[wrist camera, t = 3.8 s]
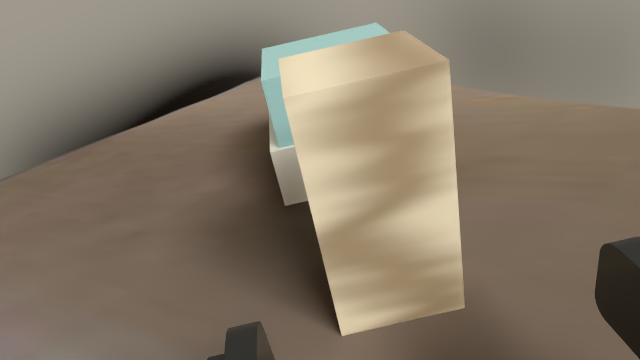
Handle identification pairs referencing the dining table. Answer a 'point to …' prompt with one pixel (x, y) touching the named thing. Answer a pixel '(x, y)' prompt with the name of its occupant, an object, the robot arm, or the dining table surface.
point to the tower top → (272, 54)
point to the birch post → (379, 176)
